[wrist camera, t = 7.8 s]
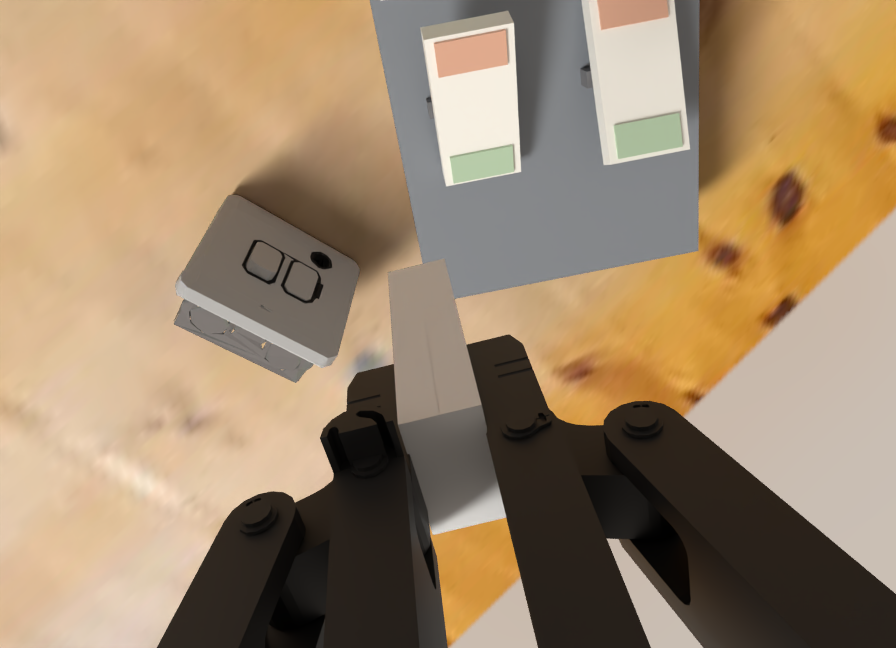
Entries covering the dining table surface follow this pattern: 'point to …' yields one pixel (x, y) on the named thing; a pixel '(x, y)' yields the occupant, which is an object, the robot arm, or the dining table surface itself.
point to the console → (539, 156)
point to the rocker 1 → (474, 96)
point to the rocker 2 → (636, 78)
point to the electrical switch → (267, 291)
